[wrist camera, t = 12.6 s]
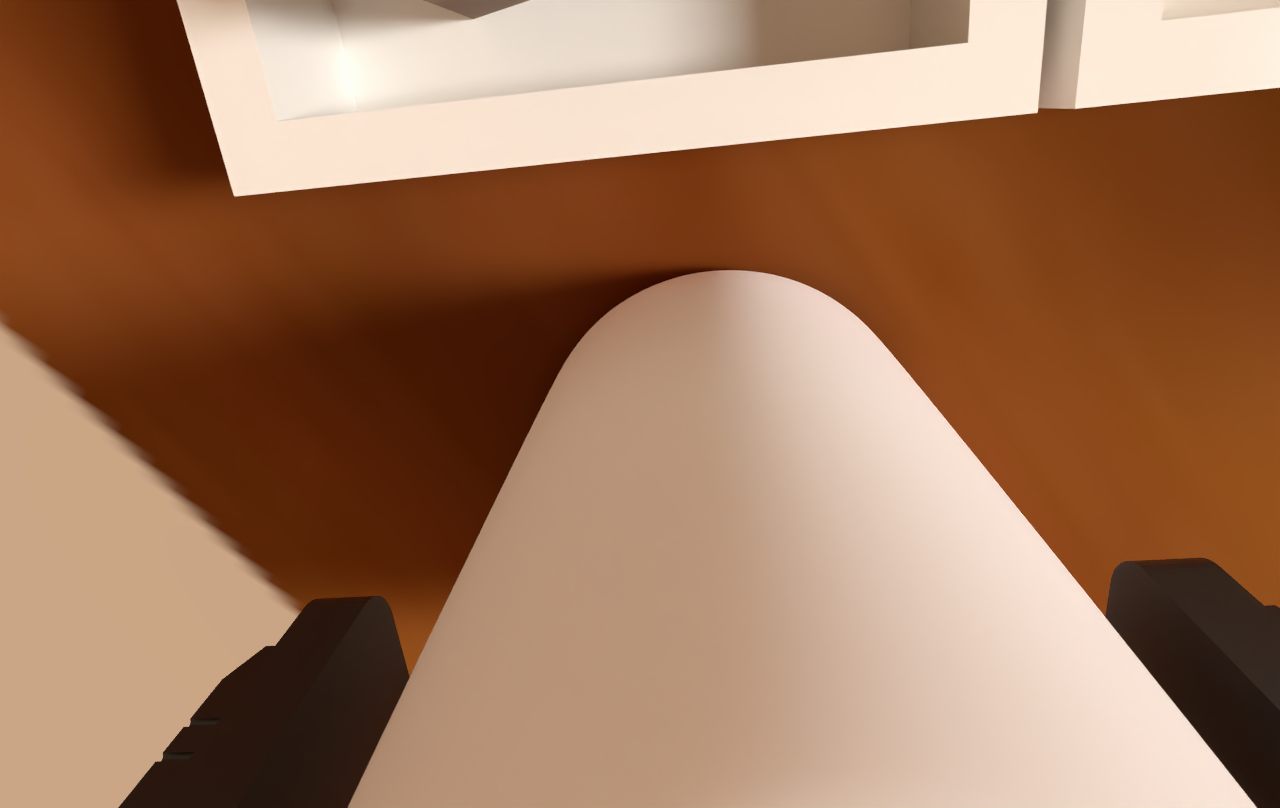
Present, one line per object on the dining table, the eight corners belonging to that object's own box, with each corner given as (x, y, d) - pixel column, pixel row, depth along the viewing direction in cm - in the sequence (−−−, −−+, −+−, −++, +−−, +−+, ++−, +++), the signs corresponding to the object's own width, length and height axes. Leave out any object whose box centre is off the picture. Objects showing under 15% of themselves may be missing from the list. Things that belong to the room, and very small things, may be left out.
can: (480, 458, 14) (-287, 1763, 3) (703, 180, 12) (868, 1121, 1) (739, 642, 15) (871, 2055, 4) (983, 419, 13) (2509, 2066, 2)
